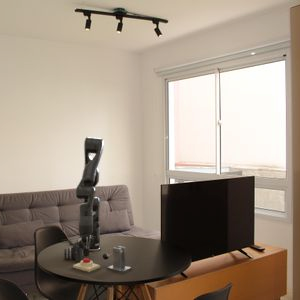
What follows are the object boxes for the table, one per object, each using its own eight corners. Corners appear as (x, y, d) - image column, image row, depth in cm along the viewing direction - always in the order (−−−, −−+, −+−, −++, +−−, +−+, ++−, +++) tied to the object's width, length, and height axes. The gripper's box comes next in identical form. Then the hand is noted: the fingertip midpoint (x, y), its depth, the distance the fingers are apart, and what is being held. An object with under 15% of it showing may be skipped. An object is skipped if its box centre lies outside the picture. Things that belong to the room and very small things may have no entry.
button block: (73, 269, 205) (73, 261, 204) (84, 265, 211) (84, 257, 211) (89, 273, 197) (89, 265, 197) (100, 269, 204) (99, 261, 204)
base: (107, 269, 203) (106, 247, 203) (115, 266, 209) (115, 244, 209) (122, 273, 196) (122, 250, 196) (131, 269, 202) (131, 247, 202)
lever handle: (102, 260, 208) (100, 255, 209) (106, 259, 210) (104, 253, 211) (120, 253, 200) (118, 247, 201) (123, 252, 203) (121, 246, 203)
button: (81, 262, 204) (81, 259, 204) (86, 260, 207) (86, 257, 207) (86, 263, 202) (86, 260, 202) (91, 262, 204) (91, 258, 204)
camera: (65, 255, 229) (64, 239, 229) (83, 255, 229) (83, 239, 229) (64, 263, 215) (64, 245, 215) (83, 263, 215) (83, 245, 215)
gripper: (88, 220, 212) (88, 251, 212) (72, 224, 202) (72, 257, 202) (99, 222, 207) (99, 254, 207) (83, 226, 197) (83, 260, 197)
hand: (86, 255), depth 204 cm, fingers closed
